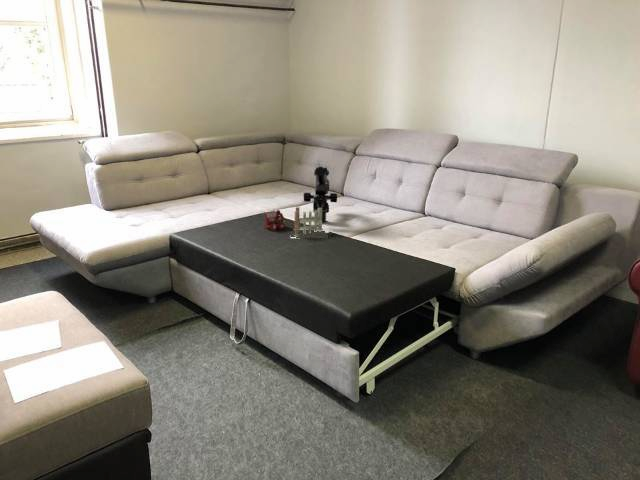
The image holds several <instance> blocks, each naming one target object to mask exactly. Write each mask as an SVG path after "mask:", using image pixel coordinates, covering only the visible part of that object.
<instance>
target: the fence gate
mask: <svg viewBox="0 0 640 480" xmlns="http://www.w3.org/2000/svg"><path fill="white" fill-rule="evenodd" d="M312 211H313V210H312ZM312 211H311V210H309V211H308V216H307V211H304V212H303V214H302V215H303V217H301V218H300V217H299V224H302V226H299V230H303V234H306V230H309V233H311V230H312V229H313V230H314V232H317V231H319V232H321V231H322V230H323V223H322V208H318V216H317V210H316V211H314V213H313V214H314V216H312ZM313 221H314V222H313ZM312 222H313V224H312ZM307 223H308V225H307Z"/></svg>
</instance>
